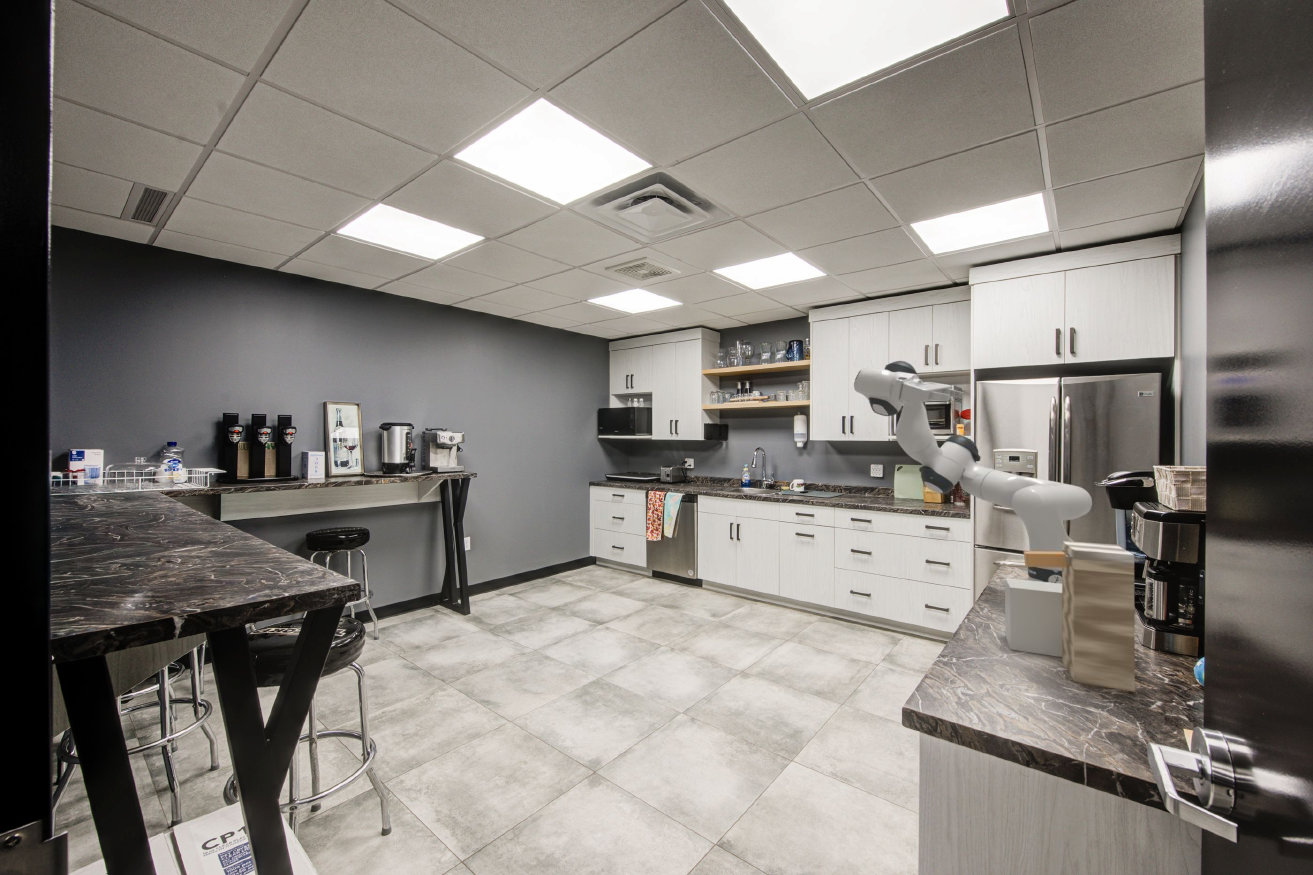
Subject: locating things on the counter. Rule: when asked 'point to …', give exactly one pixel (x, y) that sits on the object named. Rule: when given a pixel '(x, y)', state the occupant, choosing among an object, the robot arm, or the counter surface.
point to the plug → (1046, 559)
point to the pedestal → (1033, 616)
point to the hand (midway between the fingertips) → (956, 396)
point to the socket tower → (1098, 615)
